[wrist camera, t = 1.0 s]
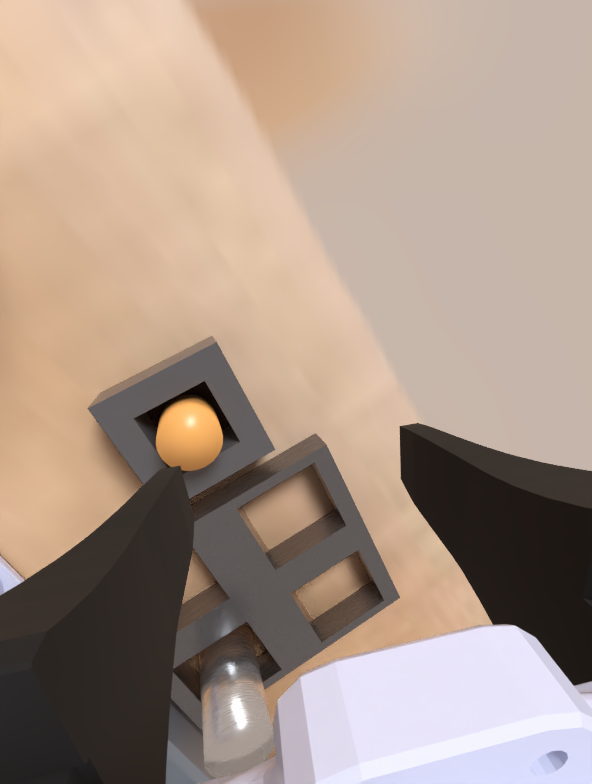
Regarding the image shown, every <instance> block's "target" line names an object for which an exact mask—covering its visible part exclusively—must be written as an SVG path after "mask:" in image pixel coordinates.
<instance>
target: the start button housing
mask: <svg viewBox="0 0 592 784" xmlns="http://www.w3.org/2000/svg"><path fill="white" fill-rule="evenodd" d="M204 381H205V382H206V384H207V386H208V387H209V389H210V391H211V392H212V394H213V396H214V398H215V399H216V401H217V403H218V405H219V406H220V408H221V410H222V411H223V413H224V415H225V417H226V418H227V420H228V422H229V423H230V425H231V426H229V427H228V428H226V429H224V430H222V434H223V444H222V448H221V451H220V453H219V454H218V456H217V457H216V459H215V460H214V461H213V462H211V463H210V464H209V465H207V466H205V467H203V468H201V469H198V470H193V471H183V470H182V473H183V477H184V481H185V485H186V488H187V492H188V496H189V499H190V498H192V497H194V496H195V495H197V494H199V493H201V492H202V491H204V490H206V489H208V488H209V487H211V486H213V485H214V484H216V483H218V482H220V481H221V480H223V479H225V478H227V477H228V476H230V475H232V474H234V473H235V472H237V471H239V470H241V469H242V468H244V467H246V466H247V465H249V464H251V463H253V462H254V461H256V460H258V459H260V458H261V457H263V456H265V455H267V454H268V453H270V452H272V451H273V450H275V448H274V446H273V445H272V443H271V441H270V439H269V437H268V435H267V434H266V432H265V430H264V428H263V426H262V424H261V423H260V421H259V419H258V417H257V415H256V413H255V412H254V410H253V408H252V406H251V404H250V402H249V401H248V399H247V397H246V395H245V393H244V391H243V390H242V388H241V386H240V384H239V382H238V380H237V379H236V377H235V375H234V373H233V371H232V369H231V368H230V366H229V364H228V362H227V360H226V358H225V357H224V355H223V353H222V351H221V349H220V347H219V346H218V344H217V342H216V341H215V339H214V338H213V337H212V336H211V337H209V338H207V339H205V340H203V341H201V342H199V343H197V344H195V345H193V346H191V347H189V348H187V349H186V350H184V351H182V352H180V353H178V354H176V355H174V356H172V357H170V358H168V359H166V360H164V361H162V362H160V363H158V364H156V365H154V366H152V367H150V368H148V369H146V370H145V371H143V372H141V373H139V374H137V375H135V376H133V377H131V378H129V379H127V380H125V381H123V382H121V383H119V384H117V385H115V386H113V387H111V388H109V389H107V390H105V391H103V392H102V393H100V394H99V395H98V396H97V398H96V399H95V400H94V401H93V403H92V404H91V405H90V406H89V407H88V410H89V411H90V412H91V414H92V415H93V416H94V418H95V419H96V421H97V422H98V423H99V425H100V426H101V427H102V429H103V430H104V431H105V433H106V434H107V436H108V437H109V438H110V440H111V441H112V442H113V444H114V445H115V446H116V448H117V449H118V451H119V452H120V453H121V455H122V456H123V457H124V459H125V460H126V461H127V463H128V464H129V465H130V467H131V468H132V470H133V471H134V472H135V474H136V475H137V476H138V478H139V479H140V480H141V482H142V483H143V485H144V484H145V483H146V482H147V481H148V480H149V479H150V478H151V477H152V476H153V475H154V474H156V473H157V472H158V471H159V470H160V469H164V468H169V467H171V466H169V465H168V464H166V463H165V462H164V461H163V460H162V458H161V457H160V455H159V454H158V451H157V448H156V436H157V430H158V429H157V428H156V426H155V425H154V423H153V422H152V420H151V419H150V417H149V416H148V414H147V413H146V412H147V411H149V410H151V409H153V408H155V407H156V406H158V405H160V404H162V403H164V402H166V401H168V400H170V399H172V398H173V397H175V396H177V395H179V394H181V393H183V392H185V391H187V390H189V389H190V388H192V387H194V386H196V385H198V384H200V383H202V382H204Z"/></svg>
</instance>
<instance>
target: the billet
mask: <svg viewBox="0 0 592 784" xmlns="http://www.w3.org/2000/svg"><path fill="white" fill-rule="evenodd" d="M199 670H200V690H201V709H202V729H203V748H204V766H205V769H206V771H207V772H208V773H209V774H210V775H211V776H213V777H215V778H221V777H225V776H229V775H233V774H237V773H240V772H244V771H246V770H248V769H250V768H252V767H254V766H256V765H258V764H260V763H262V762H264V761H265V760H266V759H267V758H268V756H269V755H270V753H271V752H272V749H273V747H274V734H273V729H272V724H271V720H270V715H269V710H268V705H267V701H266V696H265V691H264V687H263V682H262V677H261V672H260V668H259V663H258V658H257V654H256V649H255V644H254V639H253V635H252V632H251V630H250V628H249V627H248V626H247V625H245V624H242V625H241V626H239V627H238V628H236V629H235V630H233V631H231V632H230V633H228V634H227V635H225V636H224V637H222V638H221V639H219V640H217V641H216V642H214V643H213V644H211V645H210V646H208V647H207V648H205V649H203V650H202V651H200V652H199Z"/></svg>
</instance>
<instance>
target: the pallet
mask: <svg viewBox="0 0 592 784" xmlns="http://www.w3.org/2000/svg"><path fill="white" fill-rule="evenodd" d="M311 464H312V466H313V468H314V470H315V472H316V474H317V475H318V477H319V479H320V481H321V483H322V485H323V487H324V489H325V491H326V493H327V495H328V497H329V499H330V501H331V503H332V505H333V507H334V509H335V510H334V511H333V512H331V513H329V514H328V515H326V516H325V517H323V518H321V519H320V520H318V521H316V522H315V523H313V524H312V525H310V526H308V527H307V528H305V529H304V530H302V531H300V532H299V533H297V534H295V535H294V536H292V537H291V538H289V539H287V540H286V541H284V542H283V543H281V544H279V545H278V546H276V547H274V548H273V549H271V550H270V551H268V549H267V547H266V546H265V544H264V543H263V541H262V539H261V538H260V536H259V535H258V533H257V531H256V530H255V528H254V527H253V525H252V524H251V522H250V520H249V519H248V517H247V516H246V514H245V512H244V511H243V509H242V508H241V506H242V505H244V504H245V503H247V502H249V501H250V500H252V499H254V498H255V497H257V496H259V495H261V494H262V493H264V492H266V491H267V490H269V489H271V488H272V487H274V486H276V485H277V484H279V483H281V482H282V481H284V480H286V479H288V478H289V477H291V476H293V475H294V474H296V473H298V472H299V471H301V470H303V469H304V468H306V467H308V466H310V465H311ZM191 507H192V511H193V515H194V518H195V519H194V538H193V549H194V550H195V551H196V553H197V554H198V555H199V557H200V558H201V560H202V561H203V562H204V564H205V565H206V566H207V568H208V569H209V571H210V572H211V573H212V575H213V576H214V577H215V579H216V580H217V581H218V583H216V584H215V585H213V586H211V587H210V588H208V589H207V590H205V591H203V592H202V593H200V594H198V595H197V596H195V597H194V598H192V599H190V600H189V601H187V602H186V603H184V604H182V605H181V610H180V615H179V621H178V627H177V634H176V644H175V655H174V665H173V676H172V689H171V699H172V700H173V701H174V702H175V703H176V704H177V705H178V706H179V707H180V708H181V709H182V710H183V711H184V712H185V713H186V714H187V716H188V717H189V718H190V719H191V720H192V721H193V722H194V723H195V724H196V725H197V726H198V727H199V728H200V729H201V730H202V731H203V729H202V709H201V690H200V675H199V674H198V673H197V672H196V671H195V669H194V668H193V667H192V666H191V665H190V664H189V663H188V661H187V660H188V659H190V658H191V657H193V656H194V655H196V654H197V653H199V652H200V651H202V650H203V649H205V648H207V647H208V646H210V645H211V644H213V643H214V642H216V641H217V640H219V639H221V638H222V637H224V636H225V635H227V634H228V633H230V632H231V631H233V630H235V629H236V628H238V627H239V626H241V625H242V624H244V623H245V622H247V623H248V624H249V625H250V627H251V628H252V629H253V631H254V632H255V634H256V635H257V636H258V638H259V639H260V640H261V642H262V643H263V644H264V646H265V647H266V649H267V650H268V651H266V652H265V653H263V654H262V655H260V656H259V657H257V658H258V663H259V668H260V672H261V677H262V682H263V687H264V690H265V689H266V688H268V687H269V686H270V685H272V684H273V683H275V682H276V681H278V680H279V679H281V678H282V677H284V676H285V675H287V674H288V673H290V672H291V671H293V670H294V669H296V668H297V667H298V666H300V665H301V664H303V663H304V662H306V661H307V660H309V659H310V658H312V657H313V656H315V655H316V654H318V653H319V652H321V651H322V650H324V649H325V648H326V647H328V646H329V645H331V644H332V643H334V642H335V641H337V640H338V639H340V638H341V637H343V636H344V635H346V634H347V633H349V632H350V631H352V630H353V629H354V628H356V627H357V626H359V625H360V624H362V623H363V622H365V621H366V620H368V619H369V618H371V617H372V616H374V615H375V614H377V613H378V612H380V611H381V610H382V609H384V608H385V607H387V606H388V605H390V604H391V603H393V602H394V601H396V600H397V599H399V598H400V596H399V594H398V592H397V590H396V588H395V586H394V584H393V582H392V580H391V578H390V576H389V574H388V572H387V569H386V567H385V565H384V563H383V561H382V559H381V557H380V555H379V553H378V551H377V549H376V547H375V545H374V543H373V540H372V538H371V536H370V534H369V532H368V530H367V528H366V526H365V524H364V522H363V520H362V518H361V516H360V513H359V511H358V509H357V507H356V505H355V503H354V501H353V499H352V497H351V495H350V493H349V491H348V489H347V486H346V484H345V482H344V480H343V478H342V476H341V474H340V472H339V470H338V468H337V466H336V464H335V462H334V459H333V457H332V455H331V453H330V451H329V449H328V447H327V445H326V444H325V443H324V442H323V441H322V440H321V438H320V437H319V436H318V435H317V434H314V435H312V436H310V437H309V438H307V439H305V440H304V441H302V442H300V443H298V444H297V445H295V446H293V447H291V448H290V449H288V450H286V451H285V452H283V453H281V454H279V455H278V456H276V457H274V458H272V459H271V460H269V461H267V462H266V463H264V464H262V465H260V466H259V467H257V468H255V469H253V470H252V471H250V472H248V473H247V474H245V475H243V476H241V477H240V478H238V479H236V480H235V481H233V482H231V483H229V484H228V485H226V486H224V487H222V488H221V489H219V490H217V491H216V492H214V493H212V494H210V495H209V496H207V497H205V498H203V499H202V500H200V501H198V502H197V503H195V504H193V505H191ZM354 552H357V554H358V556H359V558H360V560H361V562H362V564H363V566H364V567H365V569H366V571H367V573H368V575H369V577H370V579H371V581H372V582H371V583H369V584H368V585H366V586H364V587H363V588H361V589H360V590H358V591H357V592H355V593H354V594H352V595H351V596H349V597H348V598H346V599H345V600H343V601H342V602H340V603H339V604H337V605H336V606H334V607H333V608H331V609H330V610H328V611H327V612H325V613H324V614H322V615H321V616H319V617H318V618H316V619H315V620H312V619H311V617H310V616H309V614H308V612H307V611H306V609H305V608H304V606H303V604H302V603H301V601H300V600H299V598H298V597H297V595H296V593H295V592H294V591H295V590H297V589H298V588H300V587H301V586H303V585H304V584H306V583H308V582H309V581H311V580H312V579H314V578H315V577H317V576H318V575H320V574H322V573H323V572H325V571H326V570H328V569H329V568H331V567H332V566H334V565H336V564H337V563H339V562H340V561H342V560H343V559H345V558H346V557H348V556H350V555H351V554H353V553H354Z"/></svg>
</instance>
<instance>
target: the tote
mask: <svg viewBox="0 0 592 784" xmlns="http://www.w3.org/2000/svg"><path fill="white" fill-rule="evenodd" d="M214 779H217V778H215V777H213V776H211V775H210V774H209V773H208V772H207V771H206V769H205V766H204V748H203V731H202V730H201V729H200V728H199V727H198V726H197V725H196V724H195V723H194V722H193V721H192V720H191V719H190V718H189V717H188V716H187V714H186V713H185V712H184V711H183V710H182V709H181V708H180V707H179V706H178V705H177V704H176V703H175V702H174V701H173V700H172V699H171V701H170V714H169V731H168V747H167V763H166V784H198V783H202V782H206V781H210V780H214Z"/></svg>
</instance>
